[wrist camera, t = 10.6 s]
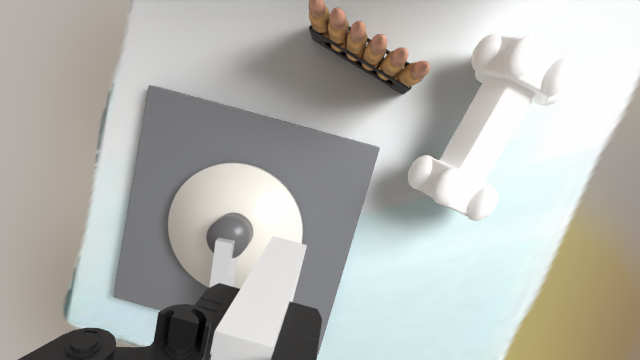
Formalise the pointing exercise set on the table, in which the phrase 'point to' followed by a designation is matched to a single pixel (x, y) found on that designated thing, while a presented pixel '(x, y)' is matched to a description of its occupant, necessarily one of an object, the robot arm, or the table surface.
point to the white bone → (491, 120)
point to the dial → (230, 221)
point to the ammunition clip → (364, 48)
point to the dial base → (251, 148)
